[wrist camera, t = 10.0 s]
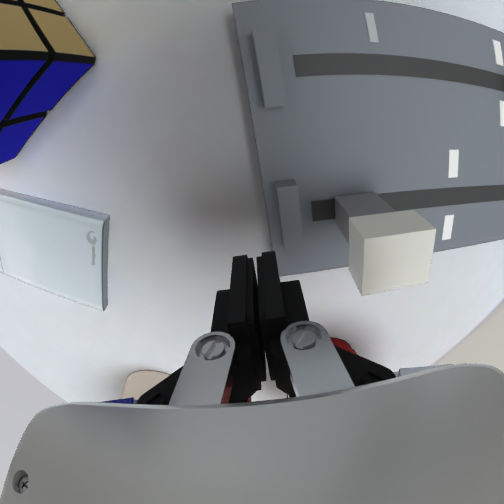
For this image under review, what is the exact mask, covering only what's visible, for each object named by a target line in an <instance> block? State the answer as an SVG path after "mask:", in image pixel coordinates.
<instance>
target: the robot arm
mask: <svg viewBox="0 0 504 504" xmlns="http://www.w3.org/2000/svg"><path fill="white" fill-rule="evenodd" d="M257 275H258V284H257V279H256V273H255V267H254V262H253V258H248V257H247V255H242V256H235V257H233V262H232V273H231V283H230V289H228V290H220V291H217V294H216V300H215V307H214V314H213V320H212V327H211V332H210V333H207V334H204V335H202V336H200V337H199V338H198V339H196V340H195V341H194V343H193V344H192V346H191V348H190V351H189V353H188V356H187V358H186V361H185V363H184V366H182V367H181V368H179V369H178V370H177V371H175V372H174V373H172V374H171V375H170V376H168V377H167V378H165V379H164V380H162V381H161V382H160V383H158V384H157V385H155V386H154V387H152V388H151V389H149V390H148V391H147V392H145V393H144V394H143V395H142V396H140V398H139V399H138V400H135V399H134V397H132V398H125V399H119V400H112V401H104V402H71V403H62V404H58V405H54V406H51V407H48V408H46V409H43V410H41V411H40V412H39V413H38V414H36V415H35V416H34V418H33V419H32V420H31V422H30V423H29V425H28V426H27V428H26V430H25V432H24V434H23V436H22V438H21V440H20V442H19V444H18V447H17V449H16V452H15V454H14V457H13V459H12V462H11V465H10V468H9V471H8V474H7V477H6V481H5V484H4V487H3V491H2V494H1V498H0V504H504V373H503V372H502V371H500V370H499V369H498V368H495V367H493V366H489V365H484V364H455V365H454V364H447V365H437V366H426V367H414V368H400V369H399V372H392V371H391V370H390V369H388V368H386V367H384V366H382V365H380V364H377V363H375V362H372V361H370V360H368V359H365V358H363V357H361V356H358V355H356V354H354V353H352V352H349V351H347V350H345V349H342V348H340V347H338V346H336V345H333V343H332V341H331V339H330V337H329V335H328V333H327V331H326V330H325V329H324V327H323V326H321V325H320V324H318V323H316V322H312V321H309V318H308V314H307V310H306V305H305V301H304V297H303V293H302V289H301V285H300V282H299V280H294V281H287V282H280V279H279V272H278V266H277V260H276V253H275V251H271V252H264V253H262V256H261V257H257ZM265 352H266V358H267V363H268V368H269V373H270V378H271V380H276V386H277V388H278V389H280V390H282V391H283V392H285V393H287V394H288V398H284V399H276V400H266V401H256V402H251V396H252V395H253V394H254V393H255V392H256V391H257V390H261V381H266V362H265Z"/></svg>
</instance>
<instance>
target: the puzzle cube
mask: <svg viewBox="0 0 504 504" xmlns="http://www.w3.org/2000/svg"><path fill="white" fill-rule="evenodd" d="M63 13H64V12H63V11H62V10H61V8H60V7H59V5H58V4H57V2H56V1H55V0H0V164H2V163H4V162H6V161H8V160H11V159H13V158H15V157H16V155H17V154H18V152H19V151H20V149H21V148H22V147H23V145H24V144H25V142H26V141H27V140H28V138H29V137H30V136H31V134H32V133H33V132H34V130H35V129H36V128H37V126H38V125H39V124H40V122H41V121H42V120H43V119H44V117H45V114H46V111H50V110H51V109H52V108H53V107H54V106H55V104H56V103H57V102H58V101H59V100H60V99H61V98H62V96H63V95H64V94H65V93H66V92H67V91H68V90H69V89H70V88H71V87H72V86H73V84H74V83H75V82H76V81H77V80H78V79H79V78H80V77H81V76H82V75H83V74H84V73H85V72H86V71H87V70H88V69H89V68H90V67H91V66H92V65H93V64H94V61H95V56H94V55H93V53H92V52H91V51H90V49H89V48H88V46H87V45H86V44H85V42H84V41H83V39H82V38H81V37H80V35H79V34H78V32H77V31H76V30H75V28H74V27H73V25H72V24H71V23H70V21H69V20H68V18H66V17H63Z"/></svg>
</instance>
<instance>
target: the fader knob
mask: <svg viewBox="0 0 504 504" xmlns="http://www.w3.org/2000/svg"><path fill="white" fill-rule="evenodd" d="M335 217H336V224H337V226H338V228H339V229H340V231H341V232H342V234H343V236H344V237H345V239H346V241H347V243H348V244H349V271H350V273H351V275H352V277H353V279H354V281H355V283H356V285H357V287H358V290H359V292H360V294H361V296H363V295H369V294H374V293H380V292H385V291H390V290H395V289H400V288H405V287H410V286H415V285H420V284H425V283H428V278H429V272H430V267H431V261H432V255H433V249H434V242H435V235H436V228H435V227H434V226H432V225H431V224H430V223H429V222H428V221H427V220H426V219H424V218H423V217H422V216H421V215H420V214H419V213H417V212H416V211H415V210H407V211H398V212H396V211H395V210H394V209H393V208H392V207H391V206H390V205H388V204H387V203H386V202H385V201H384V200H383V199H382V198H381V197H380V196H378V195H377V194H376V193H375V192H371V193H362V194H352V195H343V196H335Z"/></svg>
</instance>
